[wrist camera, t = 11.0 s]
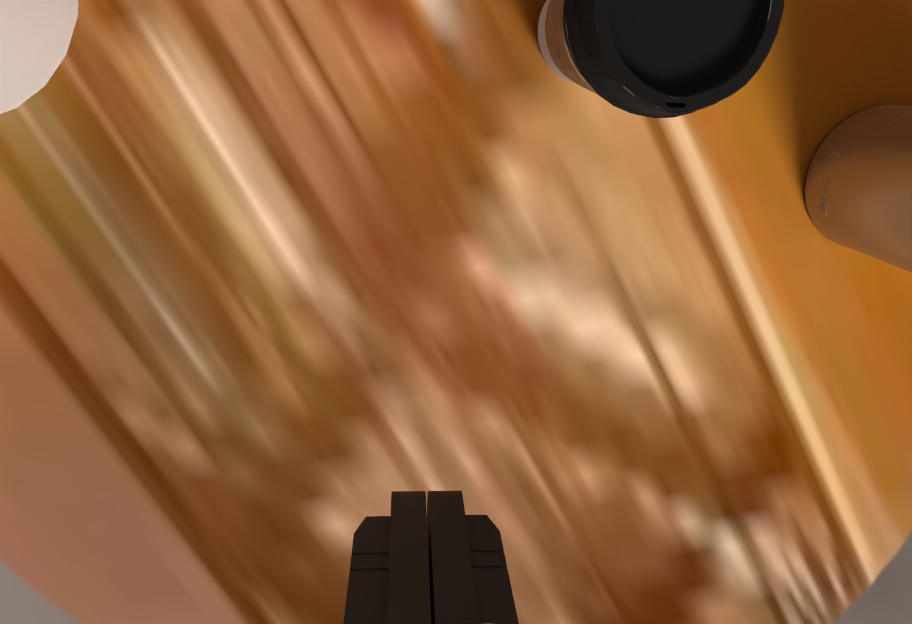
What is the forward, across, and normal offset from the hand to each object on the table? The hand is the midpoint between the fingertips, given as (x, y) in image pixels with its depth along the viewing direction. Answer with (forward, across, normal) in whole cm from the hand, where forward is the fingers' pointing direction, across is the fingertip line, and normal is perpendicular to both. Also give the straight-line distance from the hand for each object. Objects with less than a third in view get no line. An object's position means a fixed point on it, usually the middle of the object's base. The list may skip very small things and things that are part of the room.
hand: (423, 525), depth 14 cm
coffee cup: (+29, -10, -12) cm, 33 cm away
